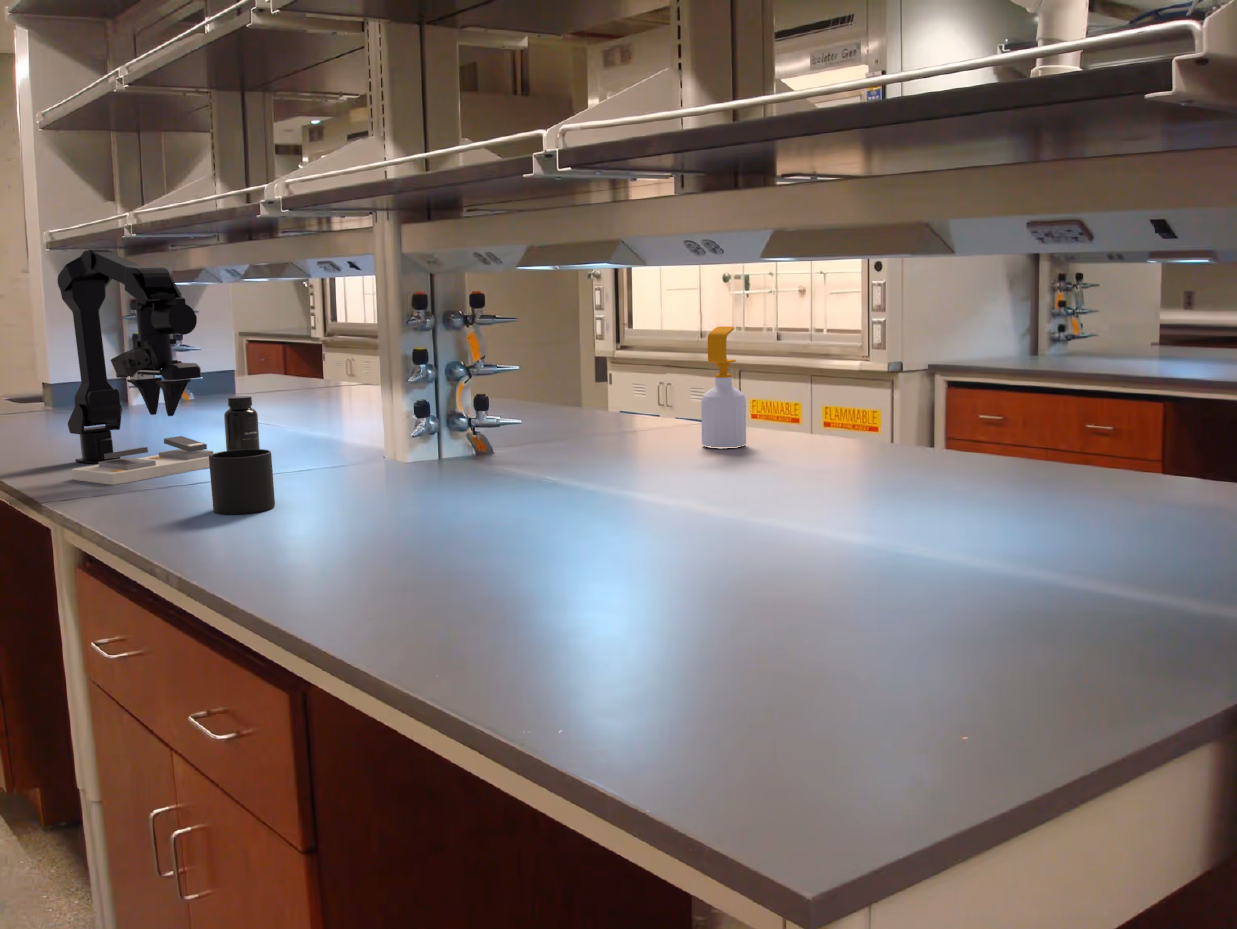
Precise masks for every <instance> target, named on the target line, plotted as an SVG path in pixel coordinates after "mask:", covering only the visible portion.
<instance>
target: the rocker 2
mask: <svg viewBox="0 0 1237 929" xmlns="http://www.w3.org/2000/svg"><path fill="white" fill-rule="evenodd" d="M163 444H165V445H168V446H170V447H173V448H176V449H182V450H185V451H188V452H193V451H199V450H207V448H208V447H207V446H208V444H207V443H204V442H201V441H199V440H194V439H192V438H190V437H189V438H188V437H186V436H183V435H179V436H173V437H166V438H165V437H164V438H163Z"/></svg>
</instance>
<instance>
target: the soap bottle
mask: <svg viewBox="0 0 1237 929" xmlns="http://www.w3.org/2000/svg"><path fill="white" fill-rule="evenodd" d="M734 330H735V327H734V326H724V325H723V326H716V327H715V328H714V329H712V330H711V331H709V333H708V335H707V360H708V363H710V364H711V363H712V364H715V363H716V365H715V366H716V368H718V369H719V370H718V373H717V374H715V375H714V377H715V378H714V386H713V387H712V388H710V389H709V390H707V391H706V392H705V393H703V395H702V397H701V402H700V403H701V404H700V407H701V411H700V412H701V445H702V444H703V445H706V446H711V447H737V446H742V445H744V444H746V445H747V405H746V404H747V399H746V396H745V394H744V393H743V392H742V391H741V390H739V389H738V388H736V387H735V386H733V385H732V374H730V373H728V368H730V367H731V364H732V363H736V361H737V360H736V359H728V358H727V339H728V336H729V335H730V333H732V332H734Z"/></svg>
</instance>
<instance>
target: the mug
mask: <svg viewBox="0 0 1237 929" xmlns="http://www.w3.org/2000/svg"><path fill="white" fill-rule="evenodd" d="M213 453H214V454H211V455H209V465H210V468H209V474H210V475H209V476H210V486H211V489H210V490H211V498H212V509H213V512H214V513H216V514H219V515H227V516H228V515H229V516H231V515H232V516H236V515H238V516H239V515H251V514H258V513H262V512H266V511H269V510H272V509H273V508H274V507H275V505H276V499H275V487H274V486H275V485H274V474H273V460H272V459H273V458H272V451H270V450H268V449H262V448H260V449H241V450H230V451H227V450H223V451H218V452H213Z"/></svg>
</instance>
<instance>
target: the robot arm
mask: <svg viewBox="0 0 1237 929" xmlns="http://www.w3.org/2000/svg"><path fill="white" fill-rule="evenodd" d="M112 280H114V281H116V282H118V283H121V284H122V285H124V291H125V292H127V293H128V294H129V295H130V296H131V297H133V298H134V299H135V302H133V303H132V304H131V305H130V310H132V311H135V313H136V322H137V333H138V334H137V336H138V339H134V340H133V342H132V346H133V347H132V349H129V350H127V351H125V352H122V353H120V354H118V355H117V356H115V357H113V358H111V359H110V362H111V365H112V367H113V369H114V372H115V375H116V376H115V377H116V378H117V379H119V378H121V379H122V378H123V379H126V378H128V379H126V382H127V383H130V384H132V385H133V386H135V387H136V389H138V391H139V393H140V395H141V397H142V399H143V402H144V404H145V406H146V408H147V410H148V412H149V415H151V416H155V415H157V412H158V407H159V401H160V394H161V393H160V392H161V390H162V394H163V401H164V405H165V410H166V414H167V416H168V417H172V416H173V417H174V416H175V413H176V411H177V408H178V407H179V406H178V405H179V403H180V400H181V398H182V397H183V393H184V392H185V390H186V388H187V385H188V383H190V382H191V381H192V379H200V378H202V372H201V371H202V370H201V366H200V365H198V363H196V362H179V361H178V359H174V358H173V349H172V348H173V346H172V345H177V338H172V337H171V335H179V336H180V335H182V336H186V335H189V334H191V333H192V332H193V331H194V330H195V328H196V327H197V322H198V319H197V318H198V317H197V314H196V313H195V310H194V309H193V308H192V307H191V306H190V305H188V304H186V298H185V297H182V292H181V291H180V289H179V288H178V287H177V283H176V282H175V281H174V279H173V276H172V275H171V274H170V271H169V270H168V269H167V268H166V267H163V266H151V265H141V264H137V263H136V262H134V261H131V260H129V259H127V258H125V257H123V256H121V255H118V254H116V253H114V251H112V250H109V249H105V248H103V249H100V248H99V249H97V248H95V249H91V248H89V249H87V250H84V251H83V252H82V254H81V255H80V256H79V257H77V258H75V259H74V260H71V261H70V262H68V263H67V264H65V265H64V266H63V268H62V270H60V272H59V273H58V275H57V286H58V288H59V291H60V294H61V300H62V301H63V303H65V305H67V307H68V308H69V309H70V311H71V312H72V318H73V325H74V335H75V342H76V343H75V344H76V350H77V357H78V358H77V359H78V367H79V373H80V385H79V387H78V388H77V389H78V390H77V391H76V393H75V395H74V408H73V409H72V410H73V411H72V412H71V414H70V416H69V419H68V422H67V427H68V431H69V433H70V434H74V435H79V441H80V448H81V449H80V450H81V458H75V459H74V460H75V462H78V463H85V464H86V463H87V464H97V463H98V462H102V461H108V460H115V459H121V457H115V458H109V459H105V458H104V454H107V453H113V452H114V444H113V443H114V442H113V438H112V431H120V430H121V423H122V422H121V421H122V413H123V408H122V406H121V399H120V392H119V390H118V389H117V388H114V387H112V385H111V384H110V383H109V381H108V376H107V367H106V359H105V358H106V357H105V351H104V343H103V342H104V341H103V334H102V327H101V320H100V318H101V317H100V309H101V307H102V305H103V304H104V301H105V300H106V295H107V294H106V288H107V287H108V285H109V284H110V283H111V281H112ZM155 376H159V377H155ZM160 376H161V377H160ZM129 377H130V378H129Z"/></svg>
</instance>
